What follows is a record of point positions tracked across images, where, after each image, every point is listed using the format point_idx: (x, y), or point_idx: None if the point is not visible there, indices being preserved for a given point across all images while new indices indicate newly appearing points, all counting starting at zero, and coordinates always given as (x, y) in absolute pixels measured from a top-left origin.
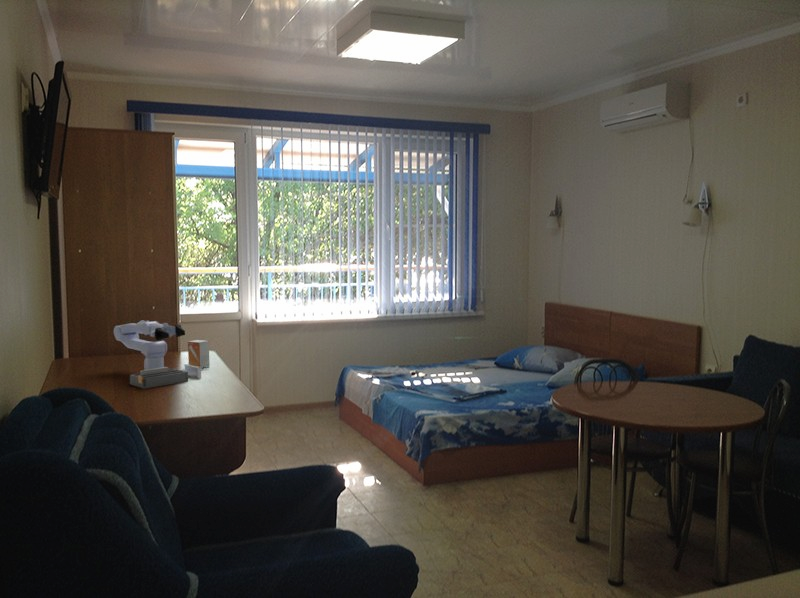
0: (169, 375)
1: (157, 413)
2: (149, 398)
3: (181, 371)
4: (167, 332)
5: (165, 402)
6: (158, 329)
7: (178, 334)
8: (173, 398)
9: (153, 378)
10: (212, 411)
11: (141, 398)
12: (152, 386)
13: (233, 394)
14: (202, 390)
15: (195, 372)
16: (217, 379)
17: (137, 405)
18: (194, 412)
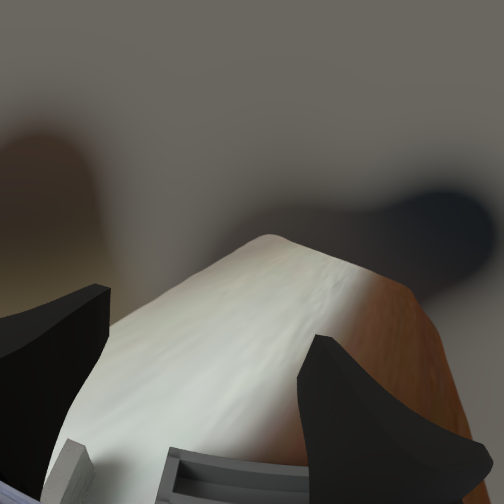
0: (273, 466)
1: (388, 291)
2: (387, 366)
3: (172, 489)
4: (325, 344)
5: (364, 322)
6: (446, 437)
7: (51, 433)
8: (341, 332)
9: None
10: (319, 256)
11: (403, 378)
12: None
13: (228, 276)
14: (245, 336)
15: (82, 478)
16: (86, 390)
17: (414, 339)
18: (341, 267)
